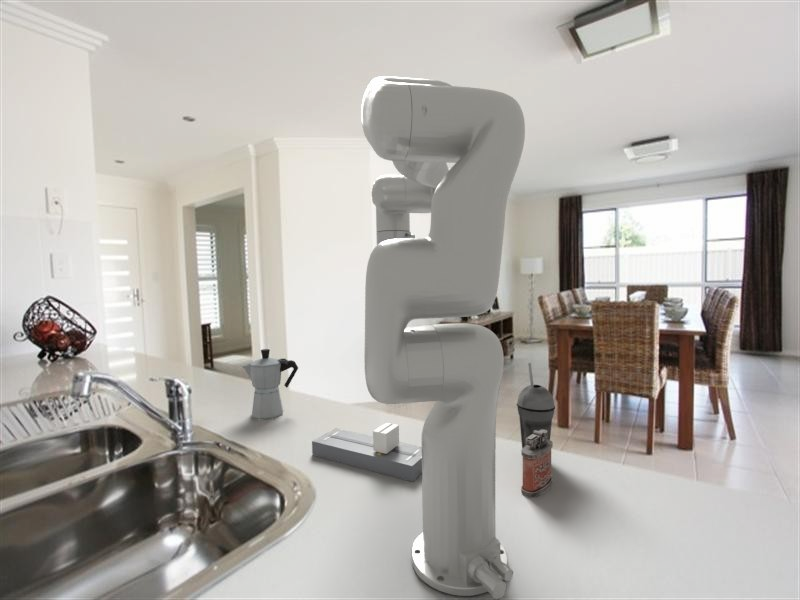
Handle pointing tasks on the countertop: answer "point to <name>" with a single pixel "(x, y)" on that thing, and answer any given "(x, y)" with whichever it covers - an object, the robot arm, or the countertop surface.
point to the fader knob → (386, 438)
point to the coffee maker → (268, 384)
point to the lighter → (536, 464)
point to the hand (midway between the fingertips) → (394, 321)
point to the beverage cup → (535, 409)
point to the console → (369, 454)
